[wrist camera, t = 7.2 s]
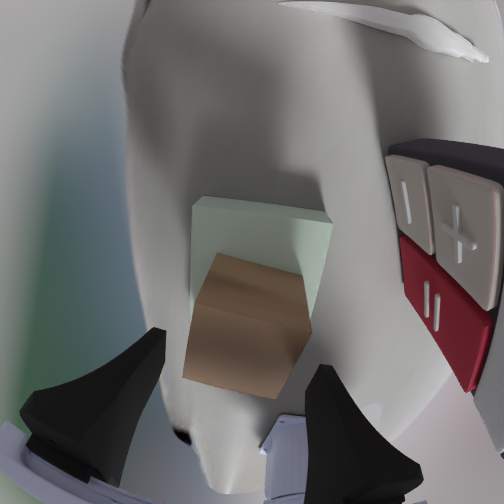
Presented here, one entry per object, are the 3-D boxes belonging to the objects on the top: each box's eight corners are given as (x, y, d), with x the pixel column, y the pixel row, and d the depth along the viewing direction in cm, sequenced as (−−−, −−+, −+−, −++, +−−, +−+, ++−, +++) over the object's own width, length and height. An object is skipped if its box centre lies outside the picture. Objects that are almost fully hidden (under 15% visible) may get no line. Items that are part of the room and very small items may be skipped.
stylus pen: (477, 47, 11) (491, 43, 9) (479, 76, 12) (494, 74, 10) (279, -6, 12) (277, -19, 10) (277, 25, 13) (276, 14, 11)
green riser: (298, 324, 21) (301, 350, 18) (200, 311, 21) (190, 336, 18) (324, 209, 17) (333, 224, 15) (205, 194, 18) (192, 205, 15)
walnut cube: (276, 339, 18) (275, 399, 13) (202, 321, 18) (182, 377, 13) (302, 275, 16) (312, 332, 11) (217, 252, 16) (194, 302, 11)
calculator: (375, 148, 15) (610, 226, 1) (431, 136, 14) (640, 191, 1) (399, 297, 19) (489, 472, 5) (445, 280, 18) (553, 425, 4)
